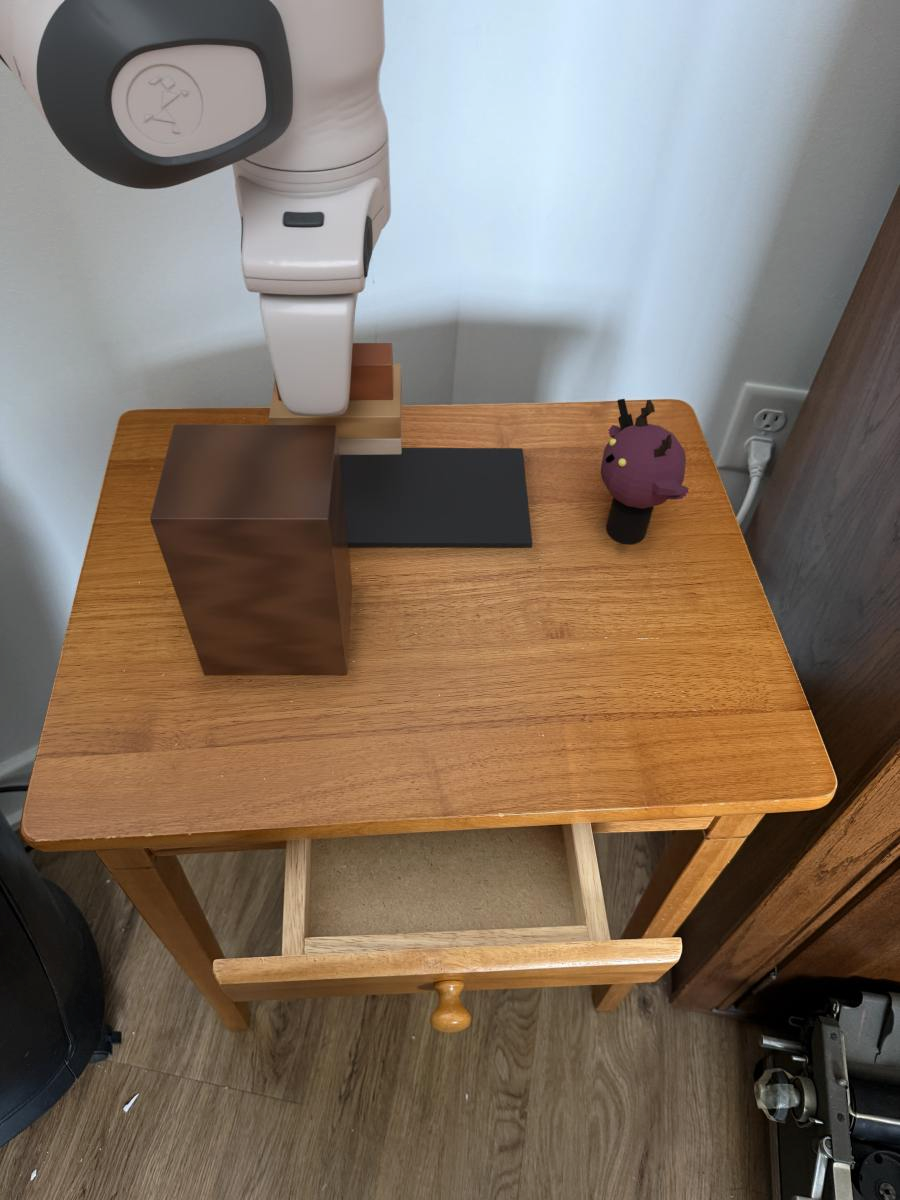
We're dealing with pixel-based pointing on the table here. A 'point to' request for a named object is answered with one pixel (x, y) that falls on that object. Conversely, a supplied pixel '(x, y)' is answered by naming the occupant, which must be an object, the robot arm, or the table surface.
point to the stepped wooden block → (361, 405)
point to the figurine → (640, 473)
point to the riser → (258, 546)
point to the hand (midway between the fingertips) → (334, 379)
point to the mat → (437, 498)
